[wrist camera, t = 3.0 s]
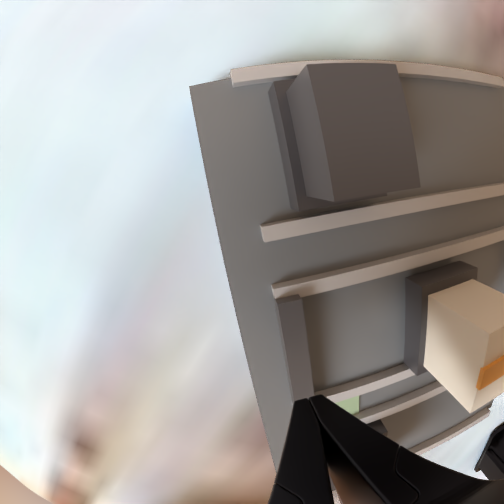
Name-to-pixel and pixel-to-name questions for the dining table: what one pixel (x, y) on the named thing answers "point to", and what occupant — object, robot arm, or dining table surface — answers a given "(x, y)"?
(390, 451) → the robot arm
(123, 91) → the dining table surface
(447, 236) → the breaker panel
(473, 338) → the breaker
